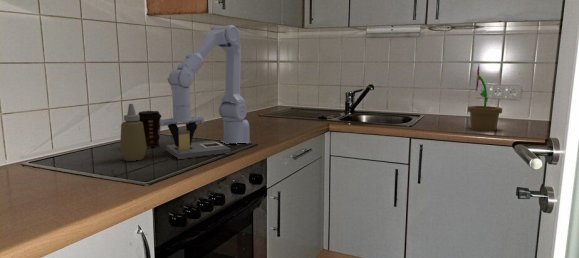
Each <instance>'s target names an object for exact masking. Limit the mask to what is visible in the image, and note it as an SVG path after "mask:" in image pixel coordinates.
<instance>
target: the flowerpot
mask: <svg viewBox="0 0 579 258" xmlns="http://www.w3.org/2000/svg"><path fill="white" fill-rule="evenodd" d="M476 71H477V72H476V80H475V81H476V87H475V88H476V89H475V91H476V92H478V88H479V81H481V84H482V86H483V90H481V92H480V93H479V95H480V96H481V97H483V98H484V102H483V105H470V106H469V105H468V106H467V112H469V113H470V114H469V116H470V129H471V130H472V131H476V130H477V131H476V132H495V131H496V129H497V124H498V122H499V121H498V120H499V117H500V114H502V113H503V108H502V107H499V106H490V105H489V106H488V105H487V103H488V100H489V99H488V93H487V86H486V83H485V80H484V78H482V76H481V75H480V64H478V66H477V70H476Z"/></svg>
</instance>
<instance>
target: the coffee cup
mask: <svg viewBox="0 0 579 258" xmlns="http://www.w3.org/2000/svg"><path fill="white" fill-rule="evenodd" d="M137 115H139V116H140V120H138V121H141V122H142V123H143V126H144V133H145V139H146V145H147V149H152V148H151V147H155V148H158V146H159V147H160V139H161V126H160V120H161V118H162V117H163V115H161V113H160V112H159V110H143V111H139V112H138V114H137Z"/></svg>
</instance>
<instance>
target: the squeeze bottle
mask: <svg viewBox="0 0 579 258" xmlns="http://www.w3.org/2000/svg"><path fill="white" fill-rule="evenodd" d="M135 109H136V108H135V107H134V103H129V104H128V108H127V114H125V115H123V120H124V121H123V122H122V123H121V124H120V140H119V141H120V143H119V147H120V148H119V149H120V152H121V154H122V157H123V159H124V161H126V162H137V161H136V160H138V161H142V160H144V158H145V155H146V152H147V149H148V148H147V145H146V139H145V133H144V126H143V123H142V122H141V121H138V120H140V116H139V115H138V114H137V113H136V110H135Z"/></svg>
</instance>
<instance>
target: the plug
mask: <svg viewBox="0 0 579 258" xmlns="http://www.w3.org/2000/svg"><path fill="white" fill-rule="evenodd" d="M178 140H179V146H178V147H177V151H179V150H188V149H190V131H189V130H187V128H185V129H184V128H183V129H179V131H178Z"/></svg>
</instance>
